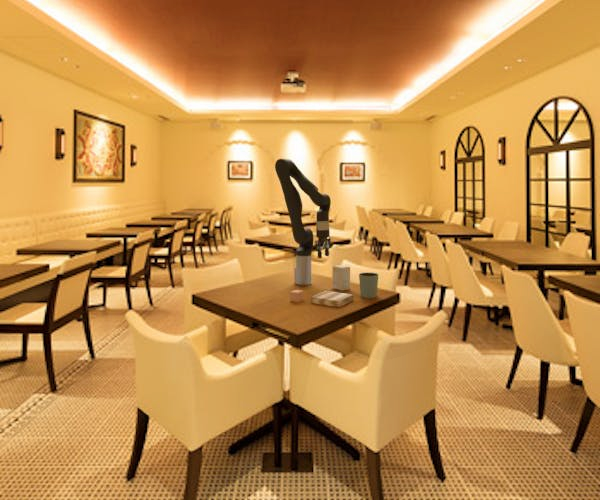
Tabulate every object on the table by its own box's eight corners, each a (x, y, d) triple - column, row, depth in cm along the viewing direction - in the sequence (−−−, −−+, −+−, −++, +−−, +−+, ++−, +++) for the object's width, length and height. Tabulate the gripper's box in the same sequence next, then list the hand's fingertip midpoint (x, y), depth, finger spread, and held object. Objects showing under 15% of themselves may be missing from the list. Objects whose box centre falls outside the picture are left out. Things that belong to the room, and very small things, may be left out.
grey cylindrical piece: (379, 298, 242) (380, 275, 241) (360, 298, 241) (361, 276, 240) (375, 293, 252) (375, 272, 251) (356, 294, 251) (357, 272, 250)
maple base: (310, 302, 233) (310, 296, 233) (325, 296, 247) (325, 290, 246) (339, 307, 225) (339, 301, 224) (353, 300, 238) (353, 294, 238)
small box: (350, 289, 263) (350, 266, 261) (342, 290, 259) (342, 267, 257) (340, 286, 269) (340, 264, 267) (332, 288, 265) (332, 265, 263)
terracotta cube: (290, 301, 237) (290, 291, 236) (295, 299, 241) (295, 289, 240) (298, 302, 234) (298, 292, 233) (303, 300, 238) (303, 290, 237)
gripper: (323, 227, 274) (323, 255, 276) (310, 229, 262) (311, 258, 264) (334, 228, 270) (334, 255, 272) (322, 230, 258) (323, 259, 260)
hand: (323, 257), depth 268 cm, fingers open, 8 cm apart
